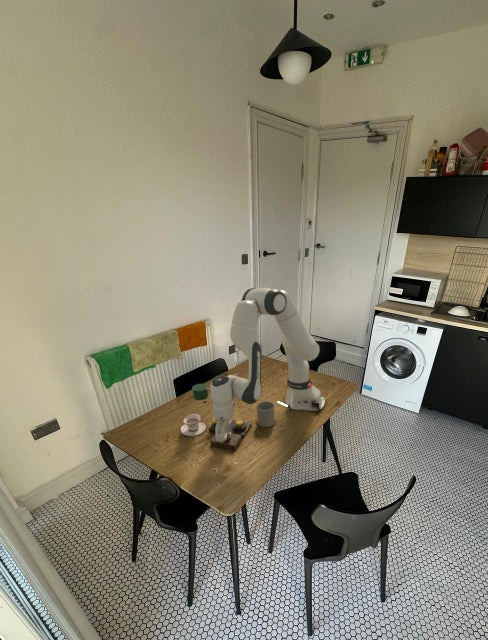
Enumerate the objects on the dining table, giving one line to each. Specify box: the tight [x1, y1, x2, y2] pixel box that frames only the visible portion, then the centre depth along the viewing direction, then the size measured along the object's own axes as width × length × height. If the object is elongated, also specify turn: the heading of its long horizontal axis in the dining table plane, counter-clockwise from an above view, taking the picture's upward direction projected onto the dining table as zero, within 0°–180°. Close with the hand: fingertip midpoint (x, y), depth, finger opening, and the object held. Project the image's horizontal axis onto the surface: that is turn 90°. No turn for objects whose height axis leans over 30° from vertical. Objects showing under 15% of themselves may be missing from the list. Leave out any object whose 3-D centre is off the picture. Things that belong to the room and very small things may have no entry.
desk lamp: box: [191, 383, 218, 424], centre depth 154 cm, size 14×7×17 cm, turn 74°
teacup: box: [180, 413, 207, 437], centre depth 155 cm, size 12×12×6 cm
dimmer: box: [209, 433, 243, 452], centre depth 147 cm, size 12×9×3 cm
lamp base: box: [208, 419, 252, 439], centre depth 157 cm, size 18×10×4 cm, turn 74°
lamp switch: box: [236, 419, 244, 427], centre depth 154 cm, size 4×4×2 cm
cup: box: [256, 400, 275, 428], centre depth 160 cm, size 8×8×10 cm
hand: (226, 436), depth 146 cm, fingers closed, pressing on dimmer knob
